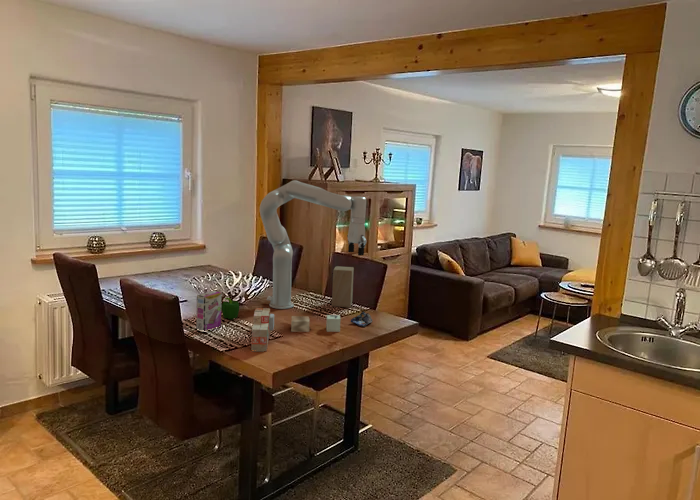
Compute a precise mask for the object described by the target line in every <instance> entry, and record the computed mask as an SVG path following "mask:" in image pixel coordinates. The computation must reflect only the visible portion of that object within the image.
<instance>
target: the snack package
mask: <svg viewBox="0 0 700 500" xmlns="http://www.w3.org/2000/svg"><path fill="white" fill-rule="evenodd" d="M372 322H373V318H372V316H371V315H370V313H369V312H368V313H367V312H365V310H363V311H362V312H361V313H359V315H357V316H355V317H353V318H352V319H351V318H350V323H353V324H356V326H358V327H360V328H366V326H368V324H370V323H372Z"/></svg>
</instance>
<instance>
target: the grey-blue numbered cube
mask: <svg viewBox="0 0 700 500" xmlns="http://www.w3.org/2000/svg"><path fill="white" fill-rule="evenodd" d="M274 327H275V314H274V313H270V331H274Z"/></svg>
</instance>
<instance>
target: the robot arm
mask: <svg viewBox="0 0 700 500" xmlns="http://www.w3.org/2000/svg"><path fill="white" fill-rule="evenodd" d="M293 199H296V200H302V201H305V202H309V203H311V204H312V203H313V204H315V205H318V206H323V207H325V208H326V207H327V208H330V209H333V210H335V211H336V210H337V211H340V212H347V211H349V210H350V222H349V225H348V226H349V227H348V230H347V231H348V232H347V241H348V242H347V243H348V245H347V246H348V247H347V248H348V249H347V252H348V253H354V252H355V244H357V246H358V249H357V256H364V255H365V247H366V245H367V242H368V240H367V239H366V226H365V225H366V211H367V198H366V197H364V196H350V195H341V194H338V193H333V192H331V191H328V190H326V189H324V188H323V187H320V186H315V185H312V184H309V183H305V182H303V181H299V180H296V179H295V180H291V181H289V182H288V183H286V184H283V185H282V186H279V187H278V188H275V189H274V190H271V191H270V192H268V193H267V194H266V195H265V196H264V197H263V199H261V202H260V205H259V213H260V215H259V216H260V218H261V221H262V225H263V227H264V231H265V233H266V237H267V240H268V242H269V243H270V244H271V246H272V248H273V255H272V296H271V295H268V296H267V297H266V301H270V303H269V308H273V309H277V310H287V309H291V308H293V307H294V306H295V304H294V303H293V302H292V301H291V300H292V267H293V266H292V264H293V263H292V261H293V255H294V251H293V247H292V244H291V241H290V237H289V236H288V232H287V229H286V228H285V227H284V226H283V225H282V224H281V221H280V218H279V215H278V208H279V207H280V206H282V205H284V204H286V203H288V202H290V201H292V200H293Z"/></svg>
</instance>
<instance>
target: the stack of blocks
mask: <svg viewBox="0 0 700 500" xmlns="http://www.w3.org/2000/svg"><path fill="white" fill-rule="evenodd" d="M270 314H271V307H268V308H267V307H260V308H259V307H256V308H255V310H254V314H253V324H252V328H251V348H250V349H251V350H254V351H253V352H264V351H266V352H267V351H268V346H269V339H270V337H271V335H270V334H271V330H270ZM255 350H256V351H255Z"/></svg>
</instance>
